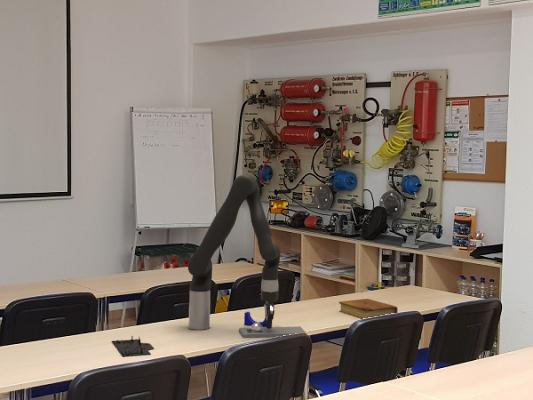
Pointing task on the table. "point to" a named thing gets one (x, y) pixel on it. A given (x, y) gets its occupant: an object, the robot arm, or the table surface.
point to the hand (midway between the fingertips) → (269, 328)
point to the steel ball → (256, 327)
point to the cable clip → (249, 321)
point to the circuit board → (132, 347)
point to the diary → (366, 308)
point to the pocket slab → (270, 332)
